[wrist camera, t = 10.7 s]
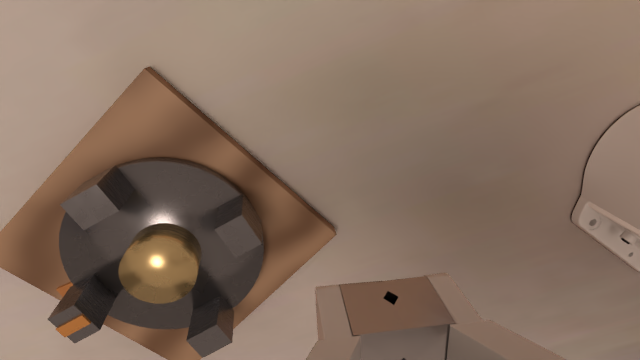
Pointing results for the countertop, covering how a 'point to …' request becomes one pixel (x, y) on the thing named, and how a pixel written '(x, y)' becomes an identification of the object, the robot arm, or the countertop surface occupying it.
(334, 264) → the countertop surface
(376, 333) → the robot arm
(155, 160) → the lathe chuck
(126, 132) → the base plate
